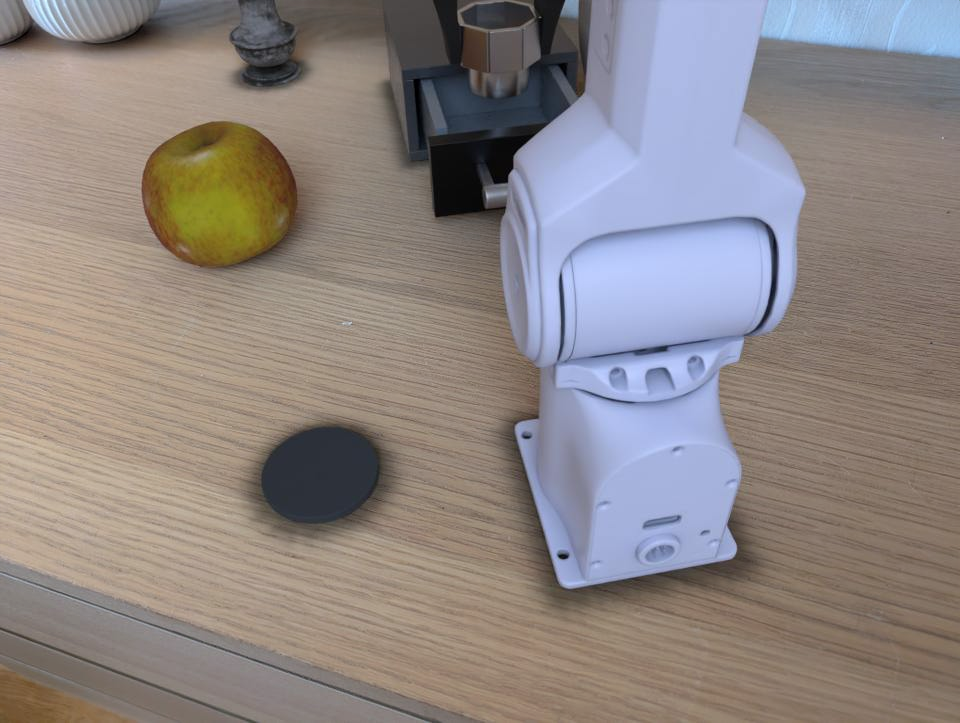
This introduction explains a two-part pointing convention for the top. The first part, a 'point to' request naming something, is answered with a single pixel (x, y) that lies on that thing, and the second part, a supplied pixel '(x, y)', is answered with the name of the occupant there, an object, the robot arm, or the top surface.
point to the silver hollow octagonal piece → (499, 46)
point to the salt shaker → (265, 44)
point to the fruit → (218, 194)
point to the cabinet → (439, 59)
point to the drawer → (483, 136)
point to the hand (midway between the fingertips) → (498, 53)
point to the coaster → (320, 475)
